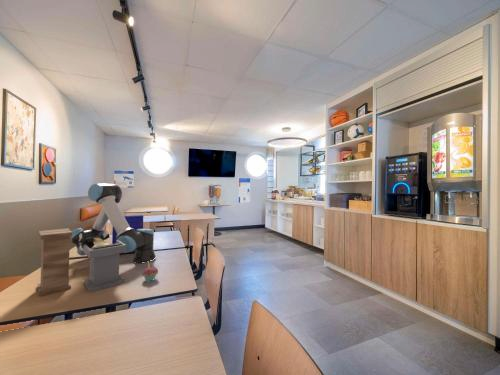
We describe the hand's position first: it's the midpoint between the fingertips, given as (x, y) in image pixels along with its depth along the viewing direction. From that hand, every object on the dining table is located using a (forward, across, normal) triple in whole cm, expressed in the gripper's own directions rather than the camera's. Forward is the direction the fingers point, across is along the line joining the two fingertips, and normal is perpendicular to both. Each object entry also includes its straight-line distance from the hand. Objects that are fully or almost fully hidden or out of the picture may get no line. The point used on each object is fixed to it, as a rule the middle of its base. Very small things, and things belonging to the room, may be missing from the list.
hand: (94, 233), depth 137 cm
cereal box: (-36, -29, -7) cm, 47 cm away
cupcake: (+21, -20, -40) cm, 49 cm away
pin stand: (-1, +20, -27) cm, 33 cm away
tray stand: (+9, 0, -33) cm, 34 cm away
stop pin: (+13, 0, -13) cm, 18 cm away
